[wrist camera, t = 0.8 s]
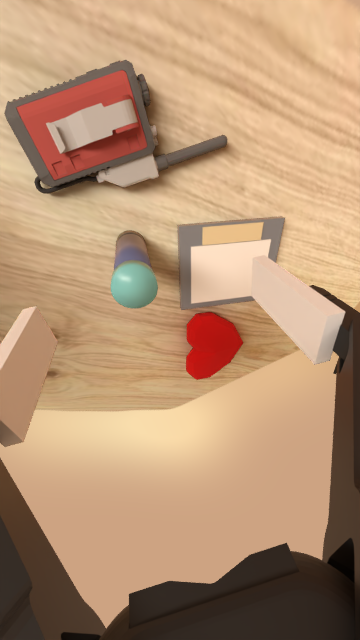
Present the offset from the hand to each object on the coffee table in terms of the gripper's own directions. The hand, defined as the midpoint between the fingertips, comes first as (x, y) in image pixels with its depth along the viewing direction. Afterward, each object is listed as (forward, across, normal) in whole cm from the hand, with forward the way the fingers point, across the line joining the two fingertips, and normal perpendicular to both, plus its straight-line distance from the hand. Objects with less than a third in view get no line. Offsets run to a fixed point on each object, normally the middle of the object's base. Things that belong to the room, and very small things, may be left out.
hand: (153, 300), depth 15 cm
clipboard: (+18, +11, -7) cm, 22 cm away
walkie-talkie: (+18, +1, +9) cm, 20 cm away
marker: (+18, -1, -2) cm, 18 cm away
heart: (+18, +8, -20) cm, 28 cm away
